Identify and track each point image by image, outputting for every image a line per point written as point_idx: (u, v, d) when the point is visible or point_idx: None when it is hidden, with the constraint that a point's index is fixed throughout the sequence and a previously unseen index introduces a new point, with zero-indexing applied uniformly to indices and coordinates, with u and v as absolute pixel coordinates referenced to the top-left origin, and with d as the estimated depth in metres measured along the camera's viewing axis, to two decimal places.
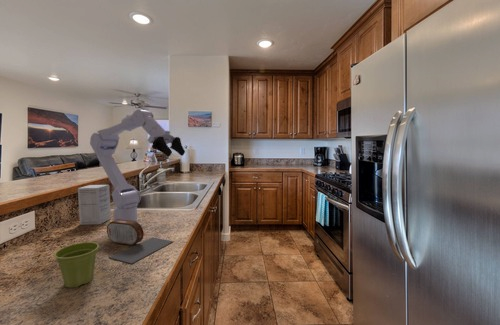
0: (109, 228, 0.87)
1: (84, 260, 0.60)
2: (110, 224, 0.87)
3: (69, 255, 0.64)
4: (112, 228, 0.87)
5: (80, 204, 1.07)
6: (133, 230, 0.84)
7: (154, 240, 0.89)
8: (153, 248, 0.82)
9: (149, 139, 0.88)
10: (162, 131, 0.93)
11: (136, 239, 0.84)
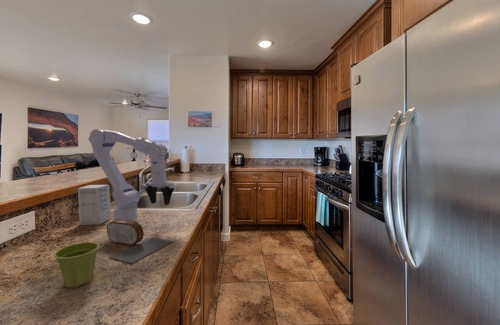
0: (109, 228, 0.87)
1: (84, 260, 0.60)
2: (110, 224, 0.87)
3: (69, 255, 0.64)
4: (112, 228, 0.87)
5: (80, 204, 1.07)
6: (133, 230, 0.84)
7: (154, 240, 0.89)
8: (153, 248, 0.82)
9: (172, 185, 0.99)
10: None
11: (136, 239, 0.84)
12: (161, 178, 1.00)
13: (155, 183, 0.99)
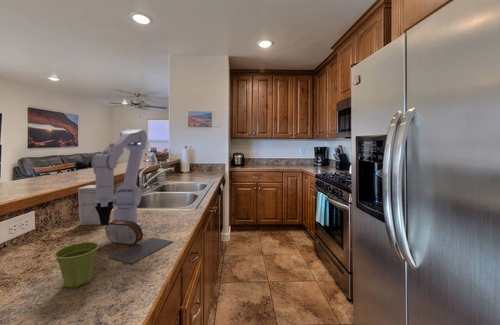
0: (108, 229, 0.87)
1: (84, 260, 0.60)
2: (108, 225, 0.86)
3: (69, 255, 0.64)
4: (111, 229, 0.86)
5: (80, 204, 1.07)
6: (131, 231, 0.83)
7: (154, 240, 0.89)
8: (153, 248, 0.82)
9: (104, 203, 0.82)
10: (113, 194, 0.89)
11: (136, 239, 0.83)
12: (100, 194, 0.86)
13: None
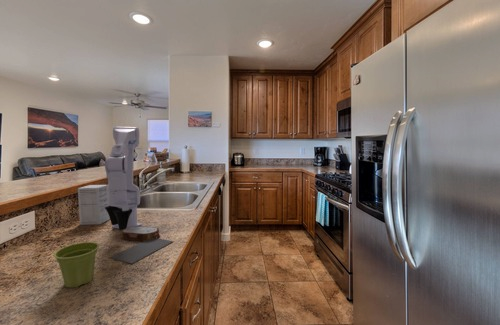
0: (129, 228, 0.96)
1: (84, 260, 0.60)
2: (134, 226, 0.98)
3: (69, 255, 0.64)
4: (134, 228, 0.96)
5: (80, 204, 1.07)
6: (154, 229, 0.94)
7: (154, 240, 0.89)
8: (153, 248, 0.82)
9: (125, 207, 0.82)
10: (126, 198, 0.88)
11: (152, 232, 0.91)
12: (116, 198, 0.84)
13: (110, 203, 0.84)
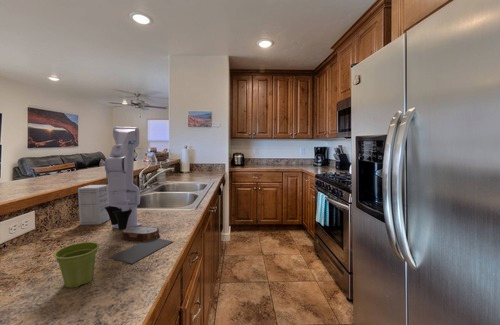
0: (129, 228, 0.96)
1: (84, 260, 0.60)
2: (134, 226, 0.98)
3: (69, 255, 0.64)
4: (134, 228, 0.96)
5: (80, 204, 1.07)
6: (154, 229, 0.94)
7: (154, 240, 0.89)
8: (153, 248, 0.82)
9: (125, 207, 0.82)
10: (126, 198, 0.88)
11: (152, 232, 0.91)
12: (116, 198, 0.84)
13: (110, 203, 0.84)
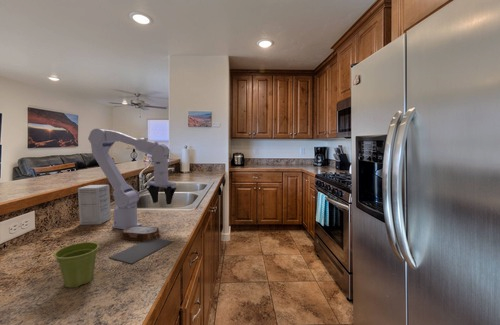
0: (129, 228, 0.96)
1: (84, 260, 0.60)
2: (134, 226, 0.98)
3: (69, 255, 0.64)
4: (134, 228, 0.96)
5: (80, 204, 1.07)
6: (154, 229, 0.94)
7: (154, 240, 0.89)
8: (153, 248, 0.82)
9: (174, 184, 1.01)
10: None
11: (152, 232, 0.91)
12: (163, 178, 1.02)
13: (157, 183, 1.01)
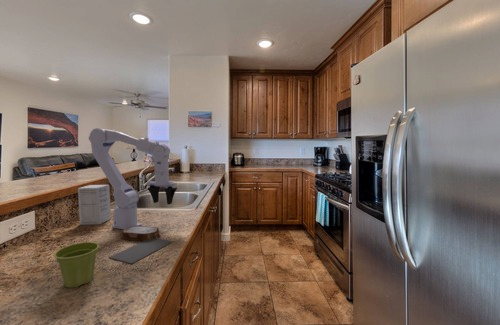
0: (129, 228, 0.96)
1: (84, 260, 0.60)
2: (134, 226, 0.98)
3: (69, 255, 0.64)
4: (134, 228, 0.96)
5: (80, 204, 1.07)
6: (154, 229, 0.94)
7: (154, 240, 0.89)
8: (153, 248, 0.82)
9: (175, 184, 1.01)
10: None
11: (152, 232, 0.91)
12: (164, 178, 1.02)
13: (158, 183, 1.01)
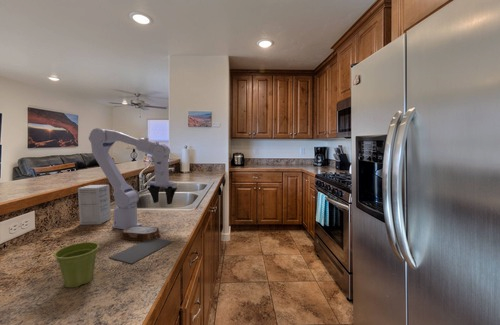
0: (129, 228, 0.96)
1: (84, 260, 0.60)
2: (134, 226, 0.98)
3: (69, 255, 0.64)
4: (134, 228, 0.96)
5: (80, 204, 1.07)
6: (154, 229, 0.94)
7: (154, 240, 0.89)
8: (153, 248, 0.82)
9: (175, 184, 1.01)
10: None
11: (152, 232, 0.91)
12: (164, 178, 1.02)
13: (158, 183, 1.01)
